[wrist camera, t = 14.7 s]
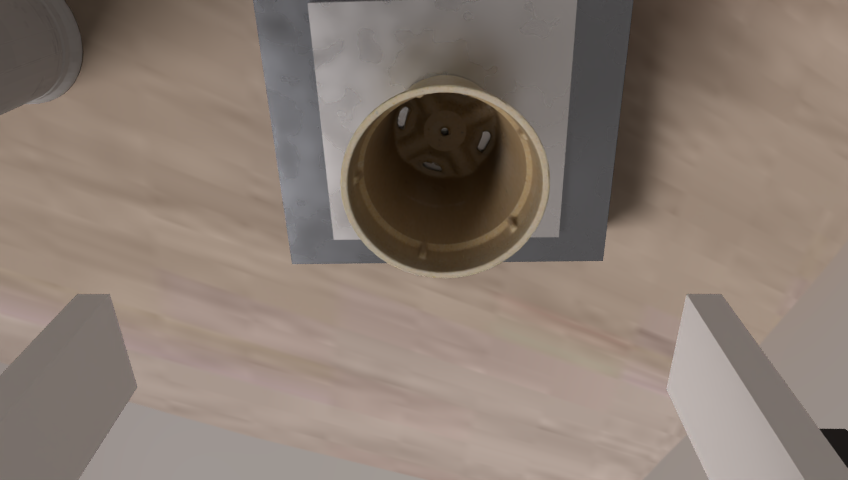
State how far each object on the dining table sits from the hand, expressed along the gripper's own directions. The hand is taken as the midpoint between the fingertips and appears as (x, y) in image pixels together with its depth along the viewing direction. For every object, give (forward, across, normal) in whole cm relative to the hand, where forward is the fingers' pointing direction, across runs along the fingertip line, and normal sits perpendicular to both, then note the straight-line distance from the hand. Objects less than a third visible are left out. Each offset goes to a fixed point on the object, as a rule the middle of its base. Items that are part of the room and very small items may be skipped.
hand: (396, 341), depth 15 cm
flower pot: (+23, +1, -2) cm, 23 cm away
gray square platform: (+27, +1, -2) cm, 27 cm away
